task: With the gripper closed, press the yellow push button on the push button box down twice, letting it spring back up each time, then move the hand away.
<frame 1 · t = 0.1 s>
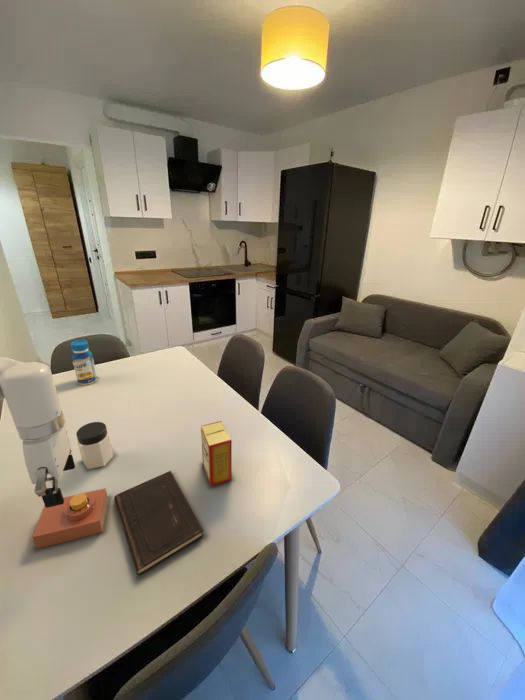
hand: (61, 485, 64), 18 cm above the table, tool pointing down, fingers open, 9 cm apart
baking soda box: (216, 472, 92), on the table
hardcover book: (157, 518, 77), on the table
jar: (98, 459, 95), on the table
yellow push button: (79, 502, 73), point 7 cm above the table, slide at 0.1 cm
push button box: (75, 521, 75), on the table
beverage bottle: (87, 381, 139), on the table
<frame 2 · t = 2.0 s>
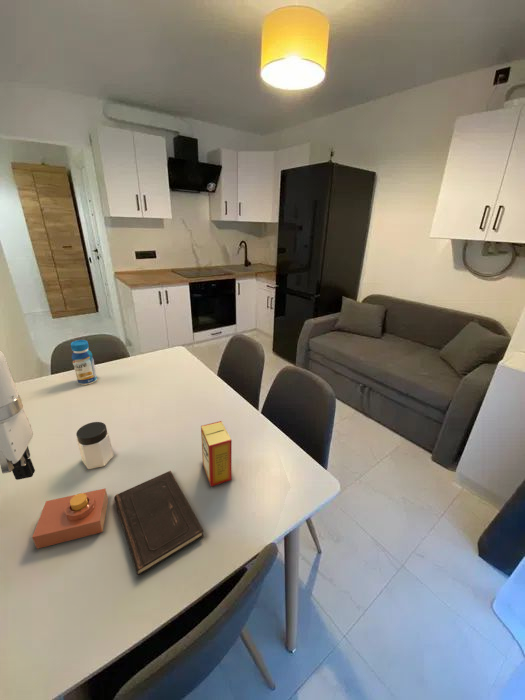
hand: (25, 475, 66), 18 cm above the table, tool pointing down, fingers closed
nothing on the table moved.
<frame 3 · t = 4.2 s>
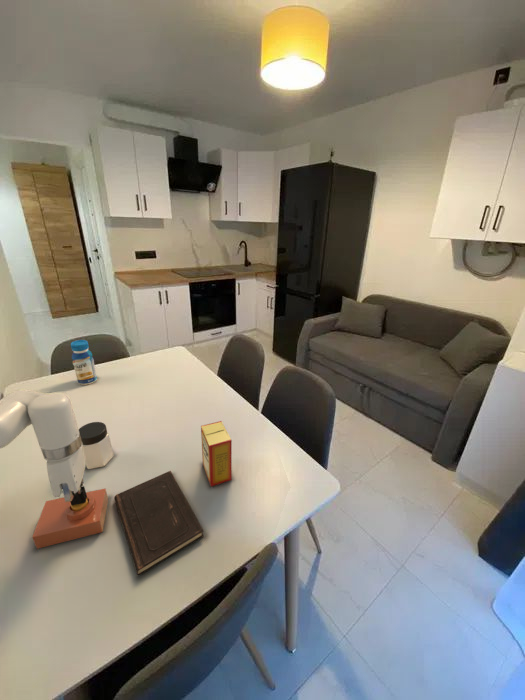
hand: (79, 501, 73), 7 cm above the table, tool pointing down, fingers closed
yellow push button: (79, 504, 73), point 6 cm above the table, slide at -0.8 cm, touching gripper
everything else where it was.
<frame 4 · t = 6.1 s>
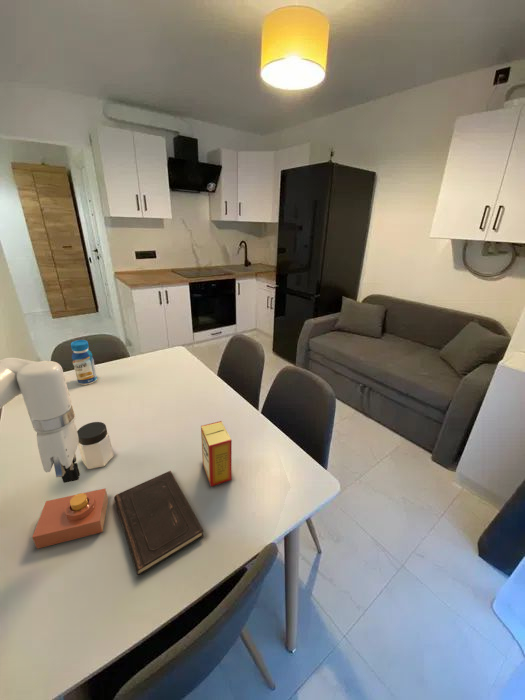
hand: (72, 478, 70), 15 cm above the table, tool pointing down, fingers closed
yellow push button: (79, 502, 73), point 7 cm above the table, slide at 0.1 cm
everything else where it was.
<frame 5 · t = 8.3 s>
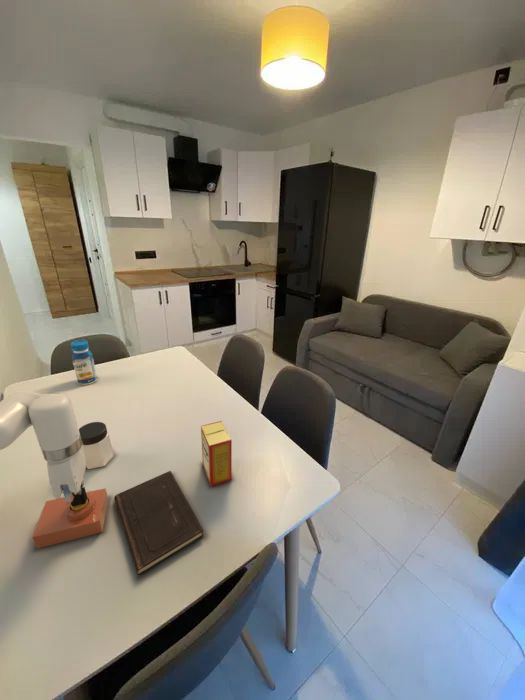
hand: (79, 502, 73), 7 cm above the table, tool pointing down, fingers closed
yellow push button: (80, 505, 74), point 5 cm above the table, slide at -1.1 cm, touching gripper
everything else where it was.
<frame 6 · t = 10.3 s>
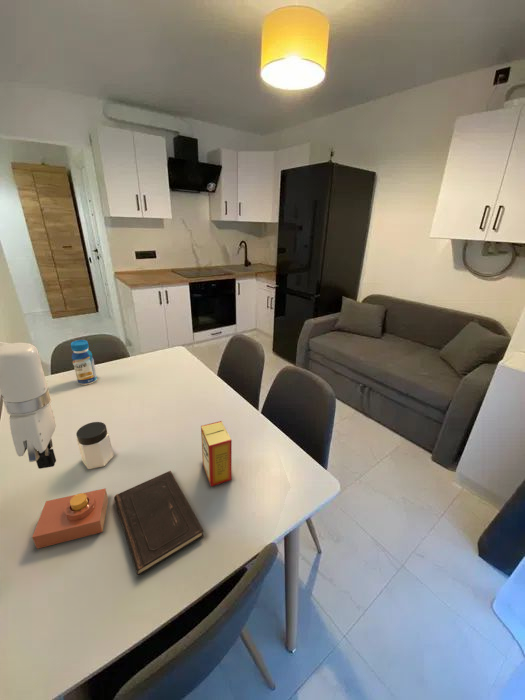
hand: (47, 465, 69), 18 cm above the table, tool pointing down, fingers closed
yellow push button: (79, 502, 73), point 7 cm above the table, slide at 0.1 cm
everything else where it was.
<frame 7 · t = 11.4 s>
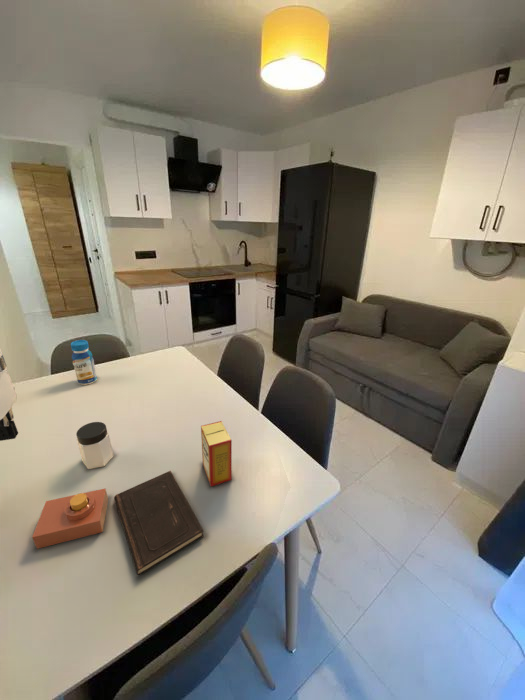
hand: (9, 437, 67), 25 cm above the table, tool pointing down, fingers closed
nothing on the table moved.
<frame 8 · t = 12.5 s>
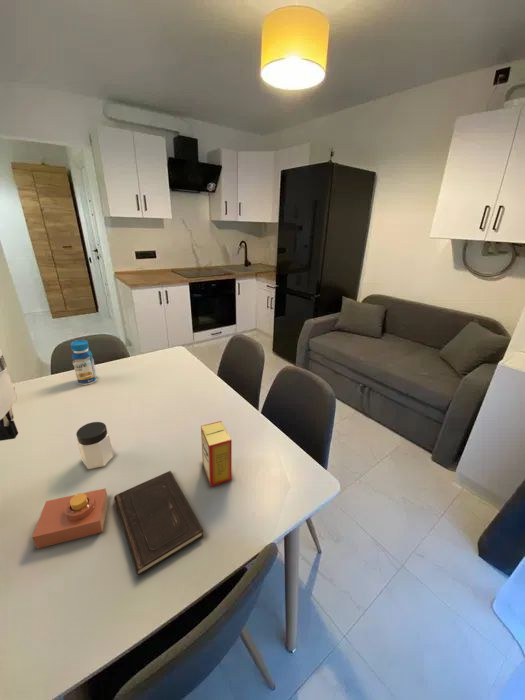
hand: (9, 437, 67), 25 cm above the table, tool pointing down, fingers closed
nothing on the table moved.
at the end: yellow push button pushed in 1.1 cm at the most during the clip, back to where it started at the end; yellow push button slide at 0.1 cm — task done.
